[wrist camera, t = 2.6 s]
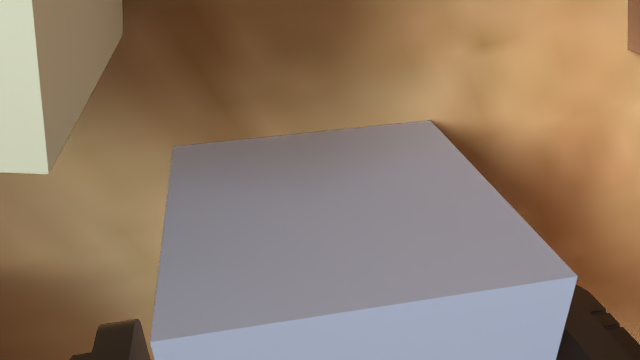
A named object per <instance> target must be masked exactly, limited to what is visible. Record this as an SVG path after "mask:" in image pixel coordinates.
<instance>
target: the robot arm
mask: <svg viewBox="0 0 640 360" xmlns="http://www.w3.org/2000/svg"><path fill="white" fill-rule="evenodd" d="M70 360H150V357H149V353H148V349H147V346H146V342H145V338H144V334H143V330H142V326H141V323H140V321H139V320H138V319H134V320H127V321H121V322H114V323H107V324H101V325H100V326H99V327H98V330H97V334H96V338H95V342H94V346H93V350H92V352H91V353H84V354H78V355H73V356H72V358H71V359H70ZM556 360H640V345H639V344H638V343H637V341H636V340H635V339H634V338H633V337H632V336H631V335H630V334H629V333H628V332H627V331H626V330H625V329H624V328H623V327H620V326H619V323H618V322H617V321H616V320H615V319H614V317H613V316H612V315H611V314H610V313H606V309H605V308H604V307H603V306H602V305H601V304H600V303H599V302H598V301H597V300H596V299H595V298H594V297H593V296H592V295H591V293H590V292H588V291H586V290H585V289H583V288H581V287H580V286H578V285H575V289H574V293H573V297H572V300H571V304H570V308H569V312H568V315H567V319H566V323H565V327H564V331H563V334H562V338H561V342H560V346H559V350H558V353H557V357H556Z"/></svg>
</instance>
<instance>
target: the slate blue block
mask: <svg viewBox="0 0 640 360" xmlns="http://www.w3.org/2000/svg"><path fill="white" fill-rule="evenodd" d="M577 278H578V276H577V275H576V274H575V273H574V272H573V271H572V270H571V269H570V268H569V266H568V265H567V264H566V263H565V262H564V261H563V260H562V259H561V258H560V257H559V256H558V255H557V254H556V253H555V252H554V251H553V250H552V248H551V247H550V246H549V245H548V244H547V243H546V242H545V241H544V240H543V239H542V238H541V237H540V236H539V235H538V234H537V233H536V232H535V231H534V229H533V228H532V227H531V226H530V225H529V224H528V223H527V222H526V221H525V220H524V219H523V218H522V217H521V216H520V215H519V214H518V213H517V211H516V210H515V209H514V208H513V207H512V206H511V205H510V204H509V203H508V202H507V201H506V200H505V199H504V198H503V197H502V196H501V195H500V194H499V192H498V191H497V190H496V189H495V188H494V187H493V186H492V185H491V184H490V183H489V182H488V181H487V180H486V179H485V178H484V177H483V176H482V174H481V173H480V172H479V171H478V170H477V169H476V168H475V167H474V166H473V165H472V164H471V163H470V162H469V161H468V160H467V159H466V158H465V157H464V155H463V154H462V153H461V152H460V151H459V150H458V149H457V148H456V147H455V146H454V145H453V144H452V143H451V142H450V141H449V140H448V139H447V137H446V136H445V135H444V134H443V133H442V132H441V131H440V130H439V129H438V128H437V127H436V126H435V125H434V124H433V123H432V122H431V121H430V120H427V121H417V122H407V123H397V124H388V125H378V126H368V127H358V128H348V129H339V130H329V131H319V132H309V133H299V134H290V135H280V136H270V137H260V138H250V139H240V140H231V141H221V142H211V143H201V144H191V145H182V146H173V152H172V161H171V169H170V178H169V186H168V194H167V203H166V211H165V220H164V228H163V237H162V245H161V254H160V262H159V270H158V279H157V287H156V296H155V304H154V313H153V321H152V329H151V338H150V344H151V348H152V352H153V356H154V360H556V357H557V353H558V350H559V346H560V342H561V338H562V334H563V331H564V327H565V323H566V319H567V315H568V312H569V308H570V304H571V300H572V297H573V293H574V289H575V285H576V281H577Z"/></svg>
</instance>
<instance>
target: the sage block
mask: <svg viewBox="0 0 640 360" xmlns="http://www.w3.org/2000/svg"><path fill="white" fill-rule="evenodd" d="M122 36H123V9H122V0H0V172H4V173H30V174H49V173H50V171H51V169H52V167H53V165H54V163H55V161H56V159H57V158H58V156H59V154H60V152H61V150H62V148H63V146H64V144H65V143H66V141H67V139H68V137H69V135H70V133H71V131H72V129H73V128H74V126H75V124H76V122H77V120H78V118H79V116H80V114H81V113H82V111H83V109H84V107H85V105H86V103H87V101H88V99H89V98H90V96H91V94H92V92H93V90H94V88H95V86H96V84H97V83H98V81H99V79H100V77H101V75H102V73H103V71H104V69H105V68H106V66H107V64H108V62H109V60H110V58H111V56H112V54H113V53H114V51H115V49H116V47H117V45H118V43H119V41H120V39H121V37H122Z"/></svg>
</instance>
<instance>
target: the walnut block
mask: <svg viewBox="0 0 640 360" xmlns="http://www.w3.org/2000/svg"><path fill="white" fill-rule="evenodd" d="M628 50H631V51H634V52H636V53H639V54H640V0H628Z"/></svg>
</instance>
